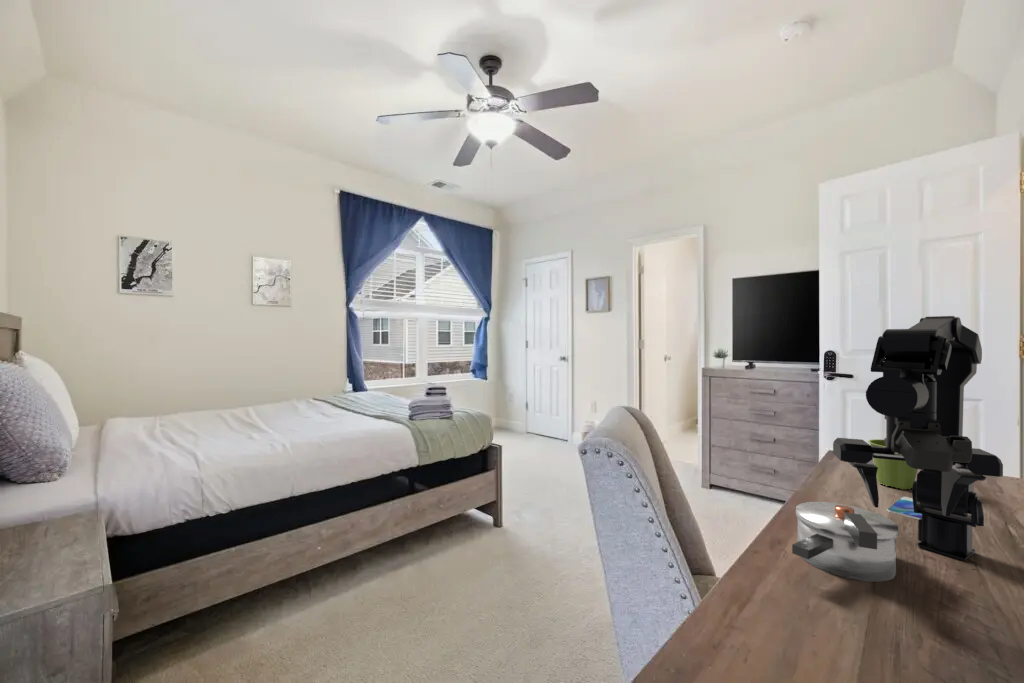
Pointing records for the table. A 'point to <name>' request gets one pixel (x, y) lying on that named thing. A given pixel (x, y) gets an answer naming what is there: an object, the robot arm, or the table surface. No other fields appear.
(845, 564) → the pressure cooker pot
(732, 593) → the table surface
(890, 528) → the cooker lid
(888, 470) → the plant pot
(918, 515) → the smartphone
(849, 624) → the table surface
